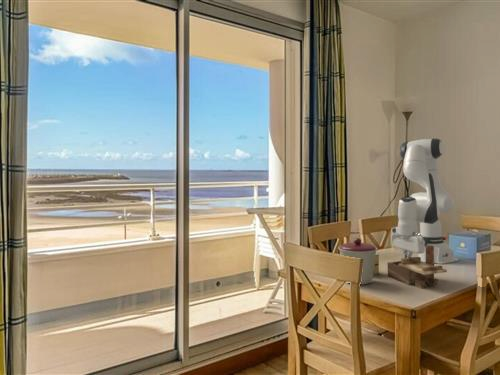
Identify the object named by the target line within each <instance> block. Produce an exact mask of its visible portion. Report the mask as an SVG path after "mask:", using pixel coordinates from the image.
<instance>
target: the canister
mask: <svg viewBox="0 0 500 375" xmlns="http://www.w3.org/2000/svg"><path fill="white" fill-rule="evenodd" d="M337 249H338V250H339V256H340V255H344V256H349V257H355V258H361V259H363V272H362V281H361V285H362V286H363V285H368V284H370V283H371V282H372V281H373V278H374V275H373V273H374V266H375V257H376V254H377V251H378V247H377V246H375V245H373V244H371V243H365V242H362V239H361V238H359V237H356V238H354V239H353V242H346V243H343V244H341V245H339V246H338V248H337ZM361 285H360V286H361Z"/></svg>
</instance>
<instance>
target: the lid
mask: <svg viewBox="0 0 500 375" xmlns="http://www.w3.org/2000/svg"><path fill="white" fill-rule="evenodd" d="M400 261H401V263H399V264H398V266H401V267H404V268H407V269H409V270H412V271H415V272H418V273H421V274H424V275H427V274H434V275H435V274H442V273H443V274H444V273H447V269H444V268H443V266H442V265H434V266H432V265H429V264H426V262H422V261H421V257H418V256H414V257H413V256H411V258H404V257H403V258H401V259H400Z"/></svg>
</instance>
